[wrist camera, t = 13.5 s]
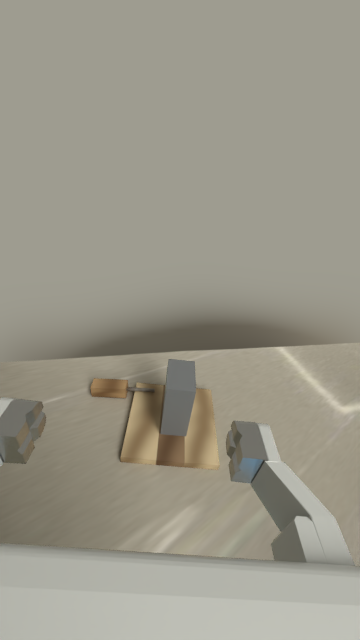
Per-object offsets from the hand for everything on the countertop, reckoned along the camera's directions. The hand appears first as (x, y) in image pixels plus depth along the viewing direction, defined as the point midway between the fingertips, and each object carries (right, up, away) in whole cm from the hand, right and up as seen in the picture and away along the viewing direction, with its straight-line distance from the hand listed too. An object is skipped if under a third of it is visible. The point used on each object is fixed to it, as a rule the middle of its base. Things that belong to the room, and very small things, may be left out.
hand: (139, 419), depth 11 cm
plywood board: (0, -13, +31) cm, 33 cm away
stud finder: (+1, -12, +30) cm, 32 cm away
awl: (-8, -9, +35) cm, 37 cm away
